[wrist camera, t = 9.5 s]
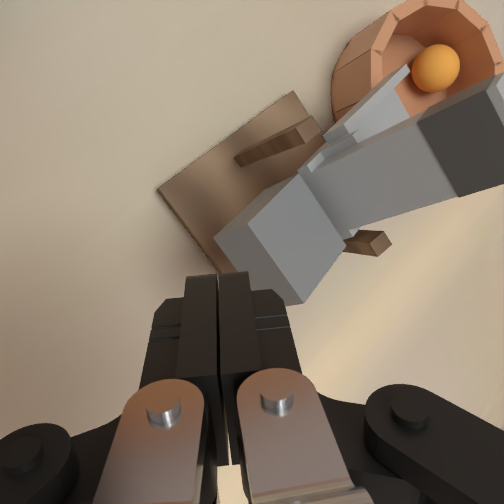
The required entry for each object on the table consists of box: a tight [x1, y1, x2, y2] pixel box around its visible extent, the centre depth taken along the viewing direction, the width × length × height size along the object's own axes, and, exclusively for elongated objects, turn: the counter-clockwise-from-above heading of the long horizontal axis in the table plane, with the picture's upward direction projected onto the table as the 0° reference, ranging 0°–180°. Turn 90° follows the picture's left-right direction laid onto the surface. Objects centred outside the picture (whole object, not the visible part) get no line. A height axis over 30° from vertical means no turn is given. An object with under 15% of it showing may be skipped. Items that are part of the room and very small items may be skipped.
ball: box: [412, 44, 460, 93], centre depth 40 cm, size 4×4×4 cm
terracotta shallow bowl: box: [331, 0, 504, 123], centre depth 39 cm, size 13×13×6 cm
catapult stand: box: [157, 91, 392, 291], centre depth 32 cm, size 14×12×14 cm
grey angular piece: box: [213, 64, 504, 306], centre depth 25 cm, size 18×6×13 cm, turn 126°
